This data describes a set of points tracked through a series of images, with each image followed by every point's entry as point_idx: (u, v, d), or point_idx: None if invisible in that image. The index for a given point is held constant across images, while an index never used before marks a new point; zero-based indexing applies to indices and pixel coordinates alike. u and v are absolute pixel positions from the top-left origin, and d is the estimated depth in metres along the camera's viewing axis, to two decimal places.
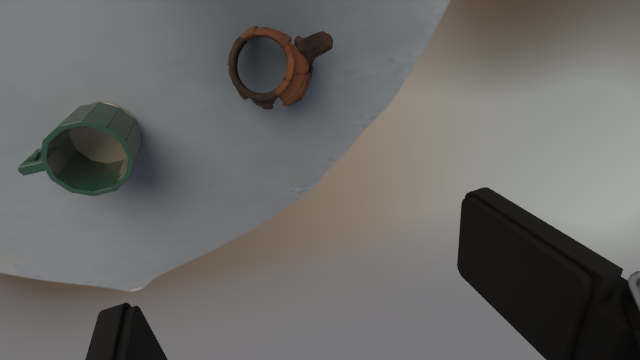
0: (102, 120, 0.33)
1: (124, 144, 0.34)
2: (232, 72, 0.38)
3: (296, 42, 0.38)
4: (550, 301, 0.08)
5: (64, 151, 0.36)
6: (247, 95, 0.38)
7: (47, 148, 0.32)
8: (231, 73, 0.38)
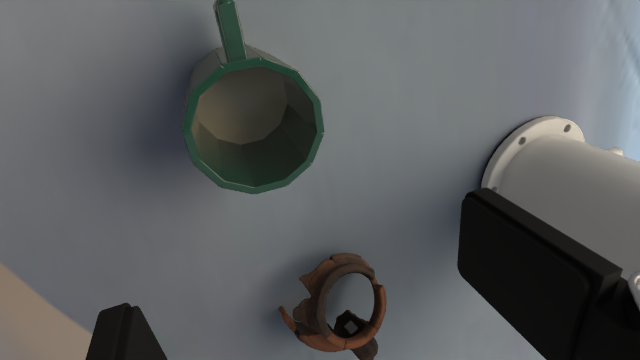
0: None
1: (282, 184, 0.21)
2: (341, 272, 0.30)
3: None
4: (550, 301, 0.08)
5: None
6: (320, 299, 0.29)
7: (283, 73, 0.18)
8: (340, 271, 0.30)
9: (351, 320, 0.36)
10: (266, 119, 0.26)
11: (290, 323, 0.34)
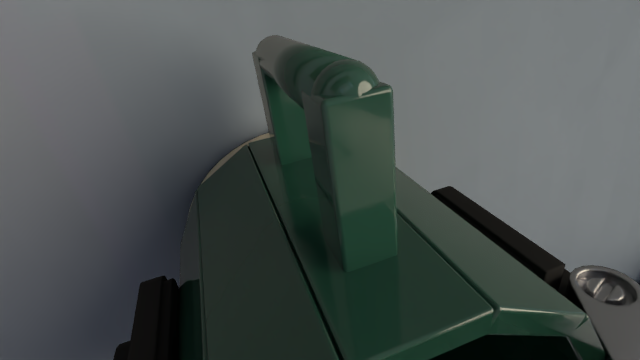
0: None
1: None
2: None
3: None
4: None
5: None
6: None
7: (541, 331, 0.05)
8: None
9: None
10: None
11: None
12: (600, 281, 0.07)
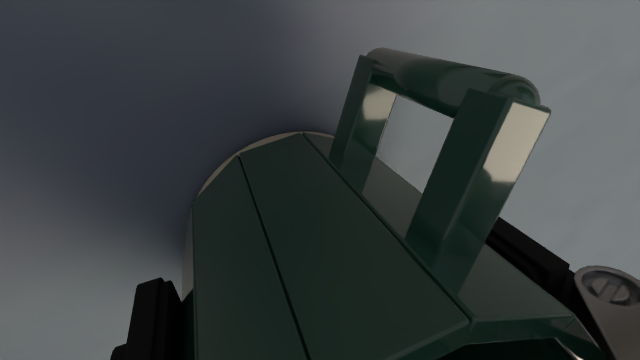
0: None
1: None
2: None
3: None
4: None
5: None
6: None
7: (575, 358, 0.06)
8: None
9: None
10: None
11: None
12: (605, 281, 0.07)
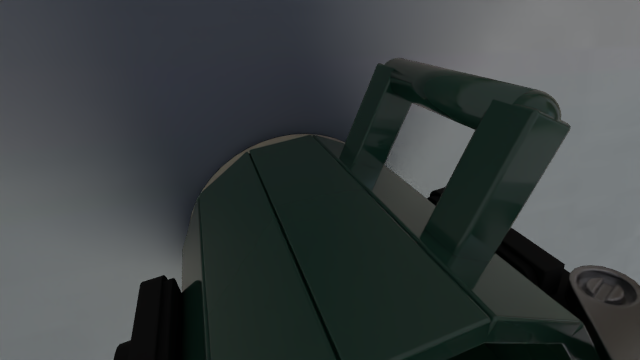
0: None
1: None
2: None
3: None
4: None
5: None
6: None
7: None
8: None
9: None
10: None
11: None
12: (599, 281, 0.07)
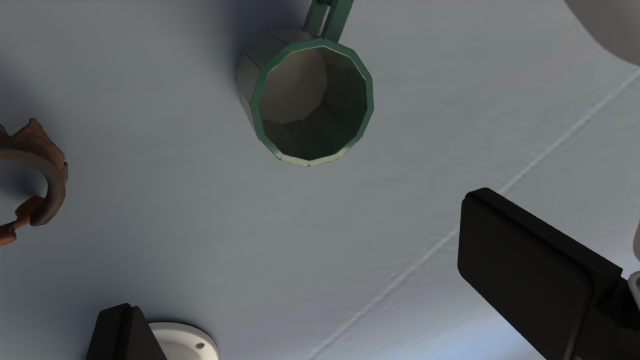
0: None
1: (306, 163, 0.22)
2: (55, 180, 0.21)
3: None
4: (550, 301, 0.08)
5: None
6: (14, 152, 0.19)
7: (360, 73, 0.20)
8: (57, 178, 0.21)
9: None
10: (295, 108, 0.28)
11: None
12: None
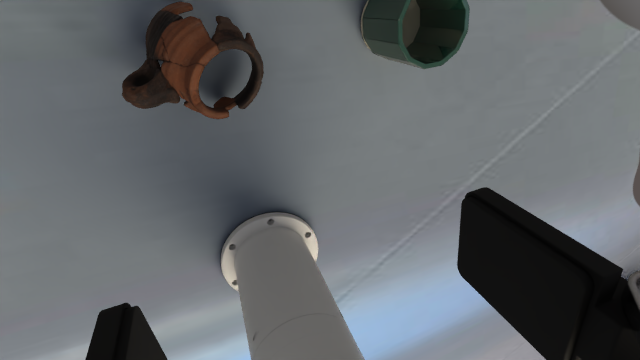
0: None
1: (423, 65, 0.33)
2: (260, 74, 0.32)
3: (178, 100, 0.30)
4: (550, 301, 0.08)
5: None
6: (251, 48, 0.30)
7: (463, 4, 0.32)
8: (261, 73, 0.32)
9: None
10: None
11: (182, 10, 0.30)
12: None
